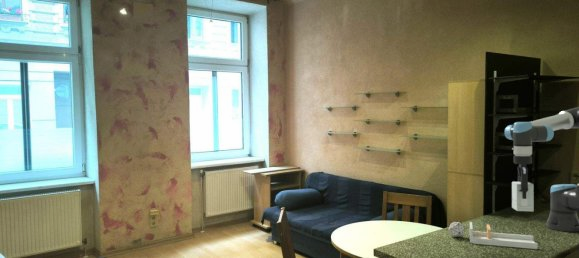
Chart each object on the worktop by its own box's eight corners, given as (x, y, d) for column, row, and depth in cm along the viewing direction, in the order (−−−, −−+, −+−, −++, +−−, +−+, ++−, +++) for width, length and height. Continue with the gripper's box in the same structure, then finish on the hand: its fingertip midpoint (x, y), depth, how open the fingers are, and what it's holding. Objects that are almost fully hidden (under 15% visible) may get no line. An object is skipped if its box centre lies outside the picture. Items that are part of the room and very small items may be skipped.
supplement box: (534, 211, 193) (534, 184, 192) (516, 211, 194) (516, 183, 194) (528, 207, 200) (528, 181, 200) (511, 207, 202) (511, 181, 201)
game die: (459, 245, 209) (464, 233, 202) (443, 237, 213) (446, 224, 207) (466, 233, 214) (470, 220, 208) (449, 225, 218) (453, 213, 212)
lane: (533, 240, 202) (533, 226, 202) (537, 249, 190) (537, 233, 190) (469, 235, 212) (469, 221, 212) (470, 243, 200) (469, 228, 200)
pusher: (489, 236, 207) (489, 224, 207) (490, 242, 199) (490, 229, 198) (486, 236, 208) (486, 224, 208) (487, 242, 199) (487, 229, 199)
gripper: (511, 152, 207) (511, 198, 208) (516, 157, 188) (516, 207, 189) (528, 153, 205) (528, 199, 205) (535, 157, 185) (535, 208, 186)
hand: (522, 203), depth 197 cm, fingers closed on supplement box, 8 cm apart
